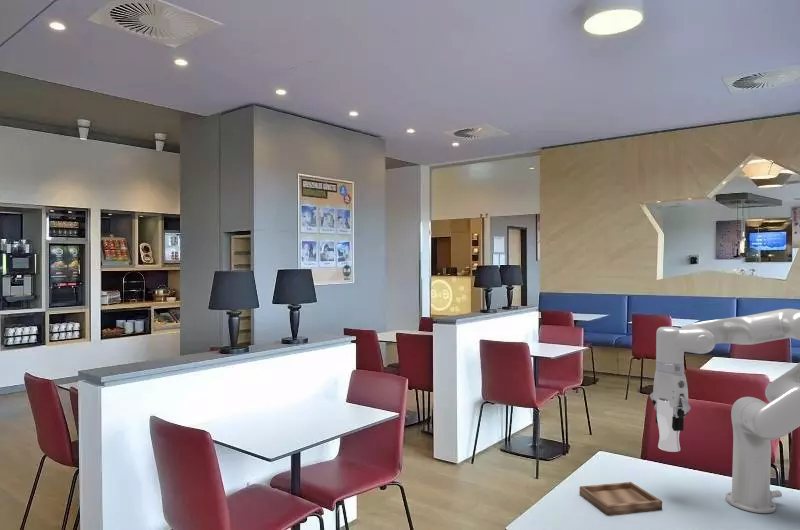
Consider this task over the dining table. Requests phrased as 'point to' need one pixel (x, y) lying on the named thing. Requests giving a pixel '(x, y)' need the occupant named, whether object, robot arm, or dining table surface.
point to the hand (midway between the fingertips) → (669, 426)
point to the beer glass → (667, 427)
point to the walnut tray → (620, 498)
